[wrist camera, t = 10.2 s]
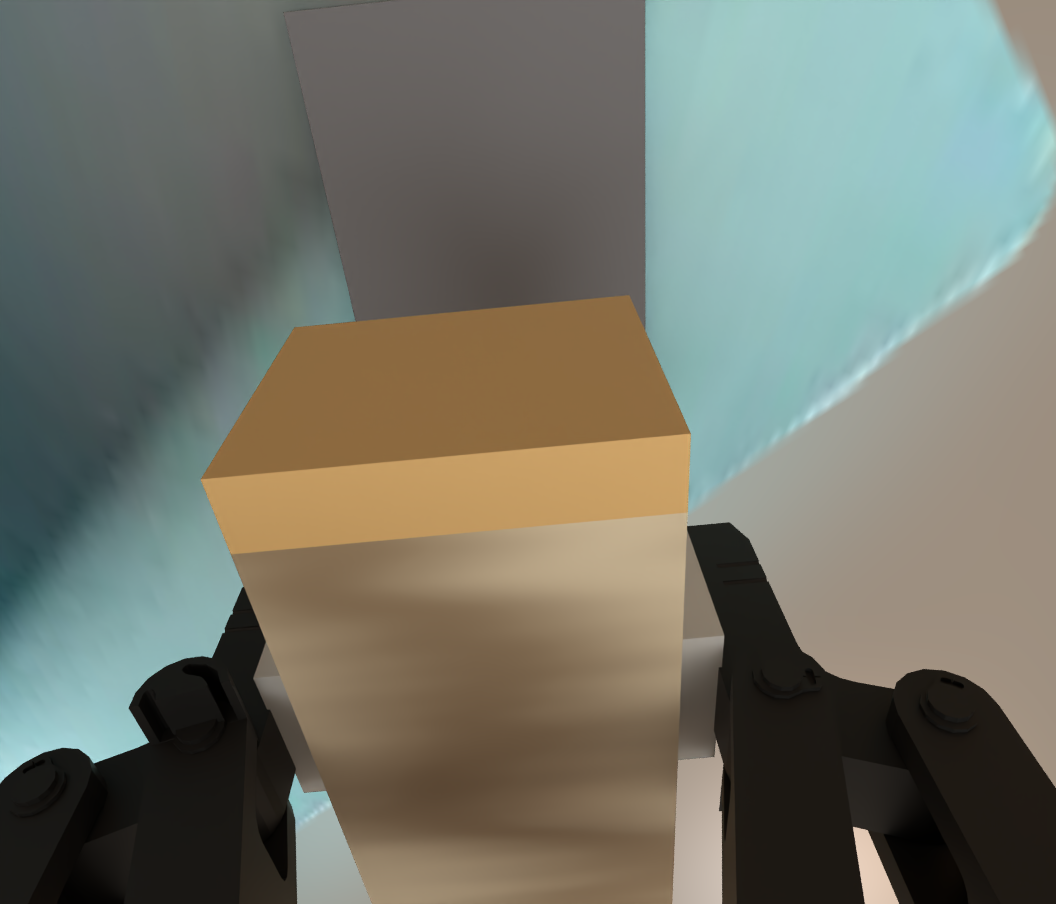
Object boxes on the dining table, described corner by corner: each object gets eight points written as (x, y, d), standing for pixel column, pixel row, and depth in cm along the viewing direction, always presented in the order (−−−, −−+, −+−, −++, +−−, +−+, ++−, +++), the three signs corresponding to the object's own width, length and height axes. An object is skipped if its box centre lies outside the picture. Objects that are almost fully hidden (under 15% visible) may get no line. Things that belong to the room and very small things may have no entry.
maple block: (635, 778, 17) (629, 295, 11) (669, 972, 14) (690, 434, 7) (426, 796, 17) (294, 327, 11) (408, 993, 14) (200, 479, 7)
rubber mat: (390, 455, 34) (388, 462, 33) (288, 11, 24) (283, 12, 24) (643, 431, 34) (645, 437, 33) (641, -26, 24) (644, -27, 24)
